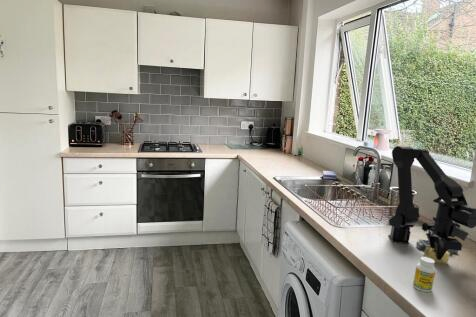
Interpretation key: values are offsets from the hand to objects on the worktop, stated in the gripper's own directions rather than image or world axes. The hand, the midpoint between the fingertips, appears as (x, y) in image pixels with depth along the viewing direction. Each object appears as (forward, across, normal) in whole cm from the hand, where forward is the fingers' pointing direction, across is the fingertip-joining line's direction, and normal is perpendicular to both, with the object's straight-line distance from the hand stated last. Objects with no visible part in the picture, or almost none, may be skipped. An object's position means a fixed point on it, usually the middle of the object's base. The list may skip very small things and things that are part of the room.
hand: (436, 257), depth 134 cm
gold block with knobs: (+1, 0, 0) cm, 1 cm away
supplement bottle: (+2, -22, +14) cm, 26 cm away
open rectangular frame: (+1, +10, -4) cm, 11 cm away
